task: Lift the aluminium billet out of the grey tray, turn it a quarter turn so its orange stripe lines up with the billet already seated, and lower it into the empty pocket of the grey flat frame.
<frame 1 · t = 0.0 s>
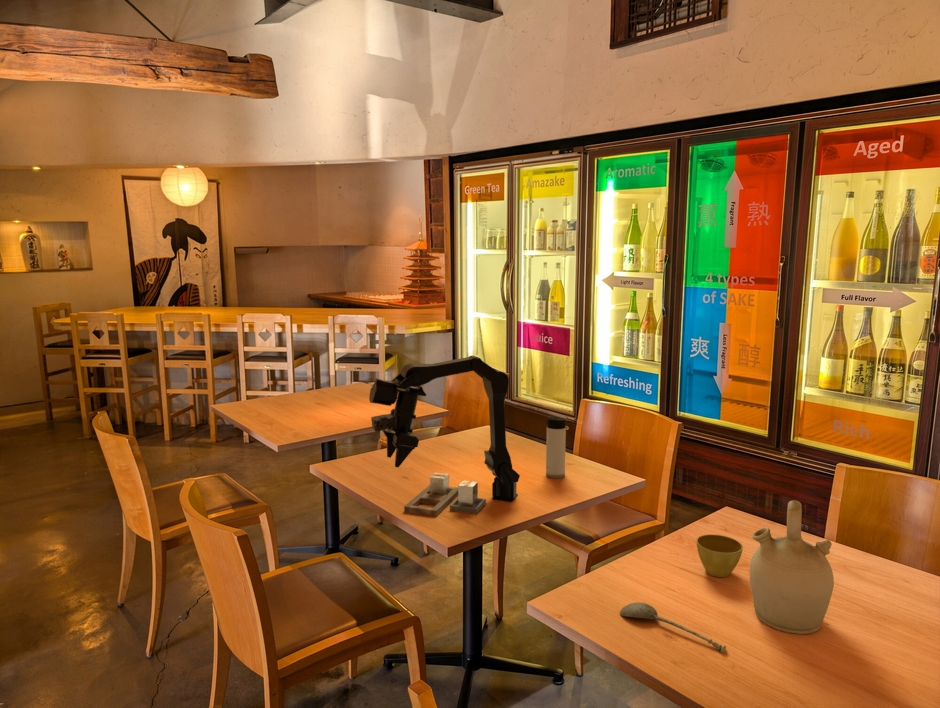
hand: (392, 462, 184), 15 cm above the table, tool pointing down, fingers open, 9 cm apart
travel mug: (555, 476, 218), on the table
grey flat frame: (433, 503, 194), on the table
grey tray: (468, 507, 191), on the table
jug: (787, 619, 133), on the table
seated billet: (439, 497, 199), resting in grey flat frame
flower pot: (717, 572, 152), on the table
soupspoon: (669, 631, 130), on the table
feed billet: (468, 506, 191), resting on grey tray
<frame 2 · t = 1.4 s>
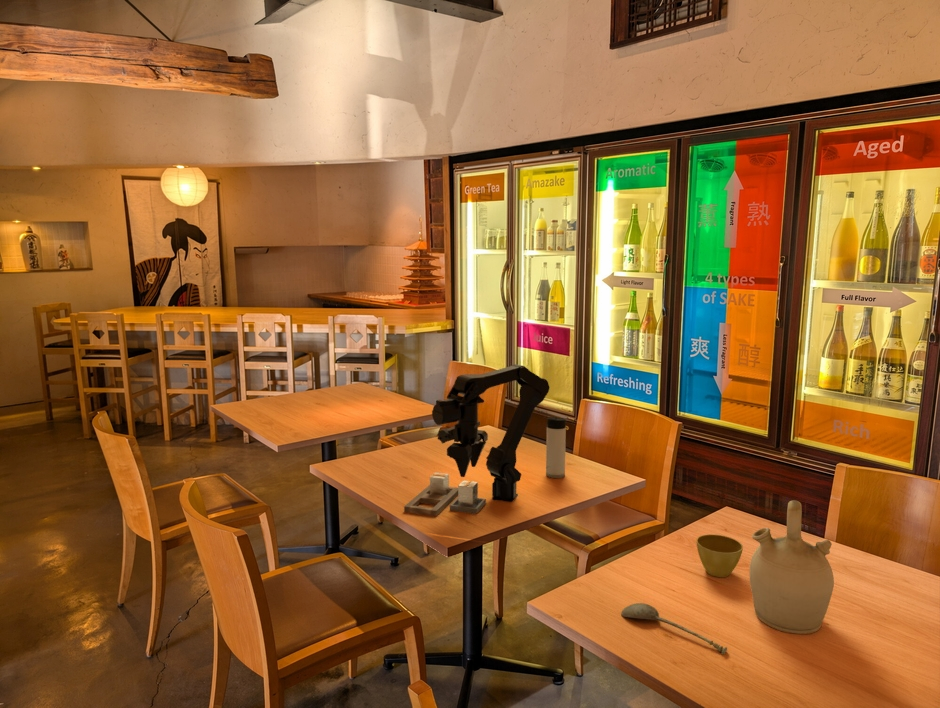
hand: (468, 471, 189), 11 cm above the table, tool pointing down, fingers open, 9 cm apart
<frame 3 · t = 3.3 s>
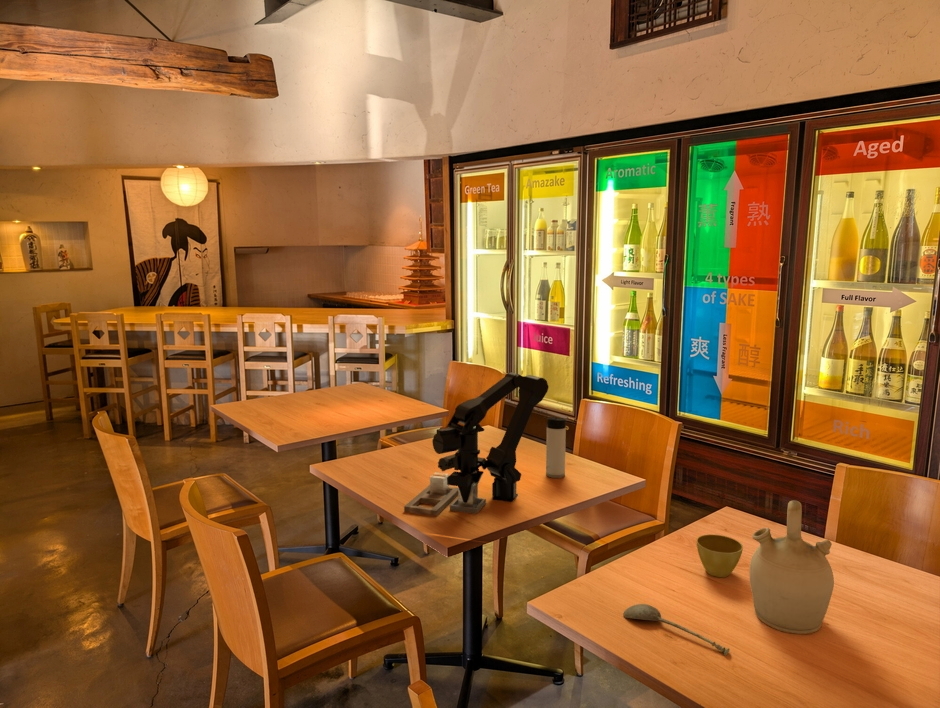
hand: (468, 499, 190), 3 cm above the table, tool pointing down, fingers closed on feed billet, 4 cm apart
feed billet: (468, 506, 191), resting on grey tray, touching gripper
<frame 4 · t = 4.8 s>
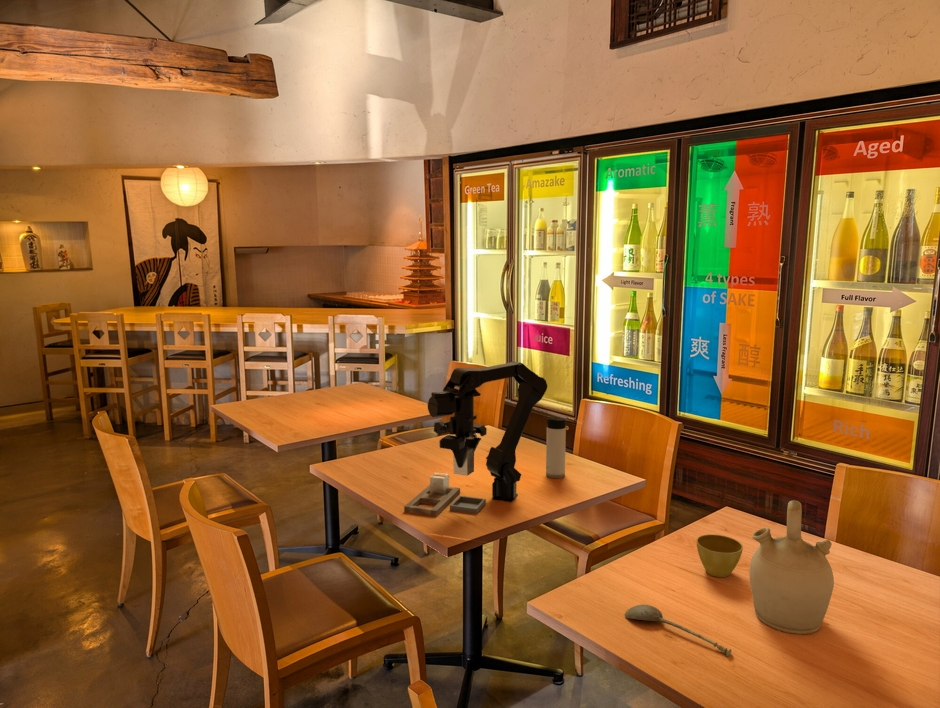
hand: (463, 465, 189), 13 cm above the table, tool pointing down, fingers closed on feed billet, 4 cm apart
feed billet: (463, 472, 189), point 11 cm above the table, touching gripper
when the fingers open (3 cm above the table, at t = 8.2 s): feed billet stays where it is, resting in grey flat frame.
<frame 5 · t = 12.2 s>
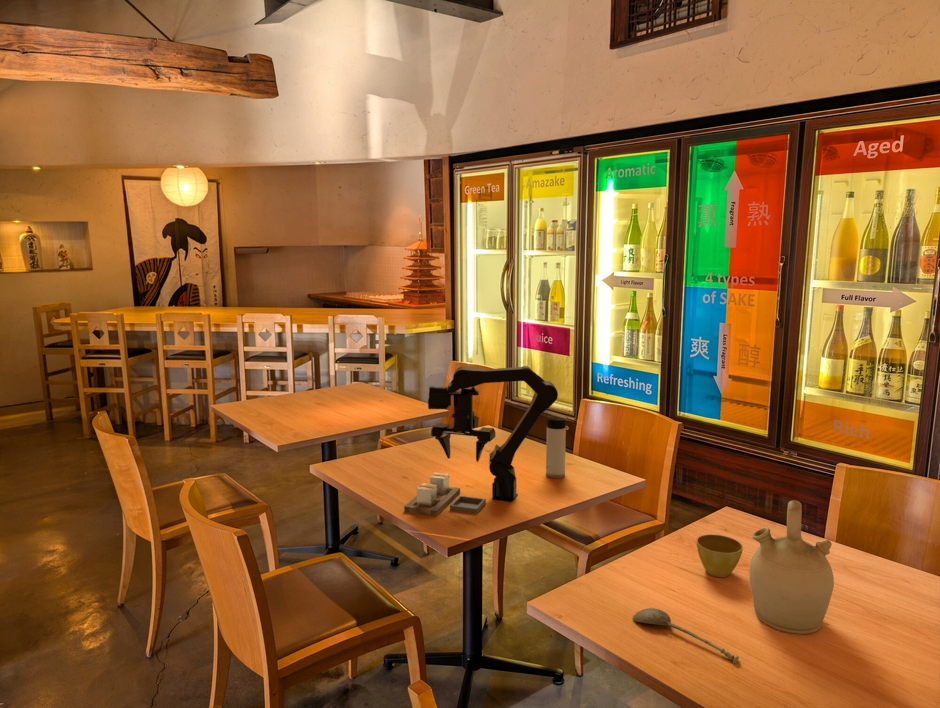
hand: (463, 459, 197), 12 cm above the table, tool pointing down, fingers open, 9 cm apart
soupspoon: (682, 639, 127), on the table
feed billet: (426, 509, 190), resting in grey flat frame
everything else where it was.
at the end: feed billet 0.1 cm from the target spot on the grey flat frame, point 0.0 cm above the grey flat frame's base; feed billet tilted 0°; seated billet moved 0.1 cm from its start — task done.
